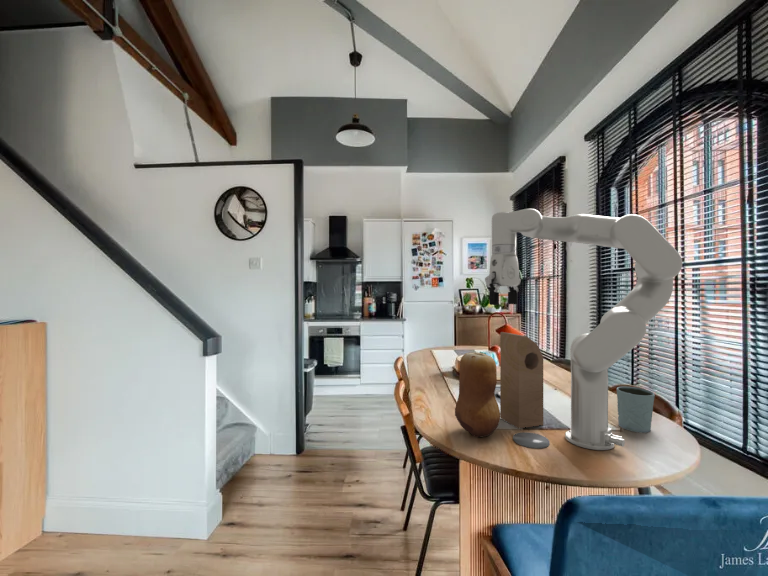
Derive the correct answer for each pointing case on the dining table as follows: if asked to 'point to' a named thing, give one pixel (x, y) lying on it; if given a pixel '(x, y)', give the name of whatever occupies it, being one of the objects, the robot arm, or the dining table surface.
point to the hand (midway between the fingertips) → (503, 304)
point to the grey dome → (531, 440)
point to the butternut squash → (477, 395)
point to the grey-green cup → (635, 408)
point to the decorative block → (520, 381)
